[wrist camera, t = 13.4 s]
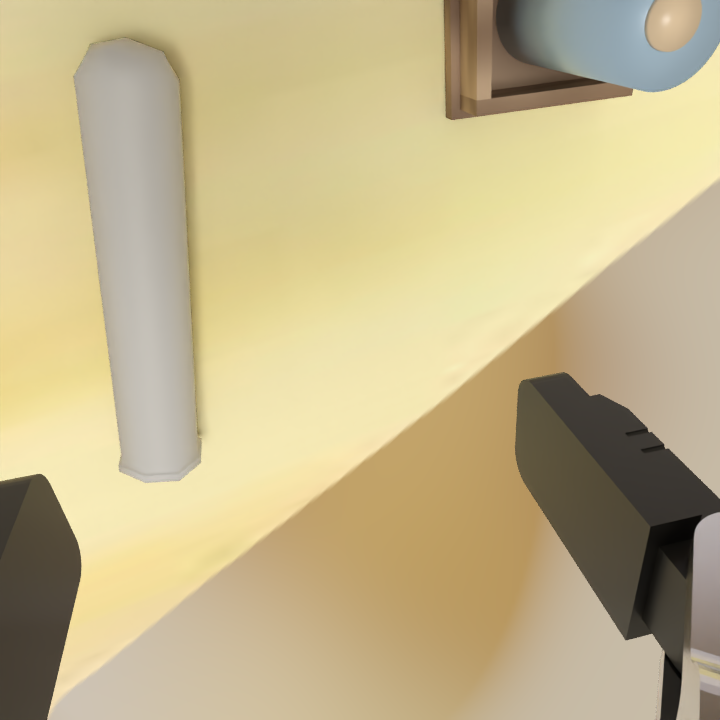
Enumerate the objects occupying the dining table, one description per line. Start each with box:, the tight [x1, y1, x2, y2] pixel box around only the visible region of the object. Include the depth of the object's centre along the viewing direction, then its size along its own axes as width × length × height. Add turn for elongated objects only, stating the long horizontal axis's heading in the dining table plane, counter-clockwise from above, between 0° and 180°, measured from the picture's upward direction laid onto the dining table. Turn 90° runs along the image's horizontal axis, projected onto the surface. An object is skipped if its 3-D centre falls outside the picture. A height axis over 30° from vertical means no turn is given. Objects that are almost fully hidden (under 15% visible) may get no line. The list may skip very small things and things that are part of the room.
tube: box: [74, 38, 201, 483], centre depth 35 cm, size 5×5×25 cm
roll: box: [496, 0, 720, 92], centre depth 28 cm, size 5×5×11 cm
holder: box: [444, 0, 633, 120], centre depth 32 cm, size 10×10×4 cm
